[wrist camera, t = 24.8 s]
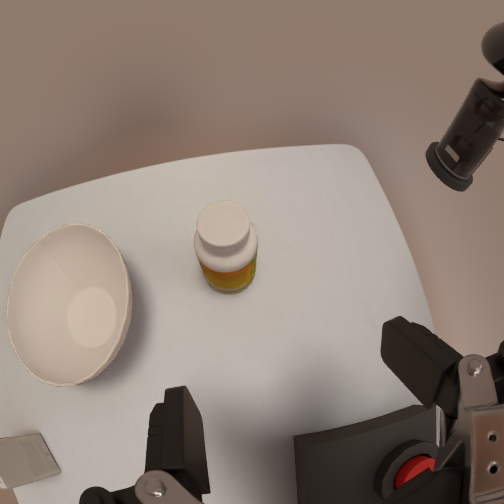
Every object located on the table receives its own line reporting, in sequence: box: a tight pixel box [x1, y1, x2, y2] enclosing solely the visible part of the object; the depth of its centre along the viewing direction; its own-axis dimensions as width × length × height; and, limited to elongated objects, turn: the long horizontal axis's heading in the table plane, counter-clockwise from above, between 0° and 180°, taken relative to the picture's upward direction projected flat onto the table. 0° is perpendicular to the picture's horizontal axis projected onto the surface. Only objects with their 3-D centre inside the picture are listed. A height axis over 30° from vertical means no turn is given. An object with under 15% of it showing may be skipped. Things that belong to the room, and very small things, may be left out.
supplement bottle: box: [194, 201, 258, 294], centre depth 24 cm, size 5×5×10 cm
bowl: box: [7, 223, 133, 387], centre depth 23 cm, size 16×16×7 cm
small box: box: [0, 434, 61, 489], centre depth 12 cm, size 8×6×10 cm
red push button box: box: [294, 405, 439, 504], centre depth 17 cm, size 14×12×6 cm
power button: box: [395, 456, 435, 488], centre depth 14 cm, size 4×4×2 cm
